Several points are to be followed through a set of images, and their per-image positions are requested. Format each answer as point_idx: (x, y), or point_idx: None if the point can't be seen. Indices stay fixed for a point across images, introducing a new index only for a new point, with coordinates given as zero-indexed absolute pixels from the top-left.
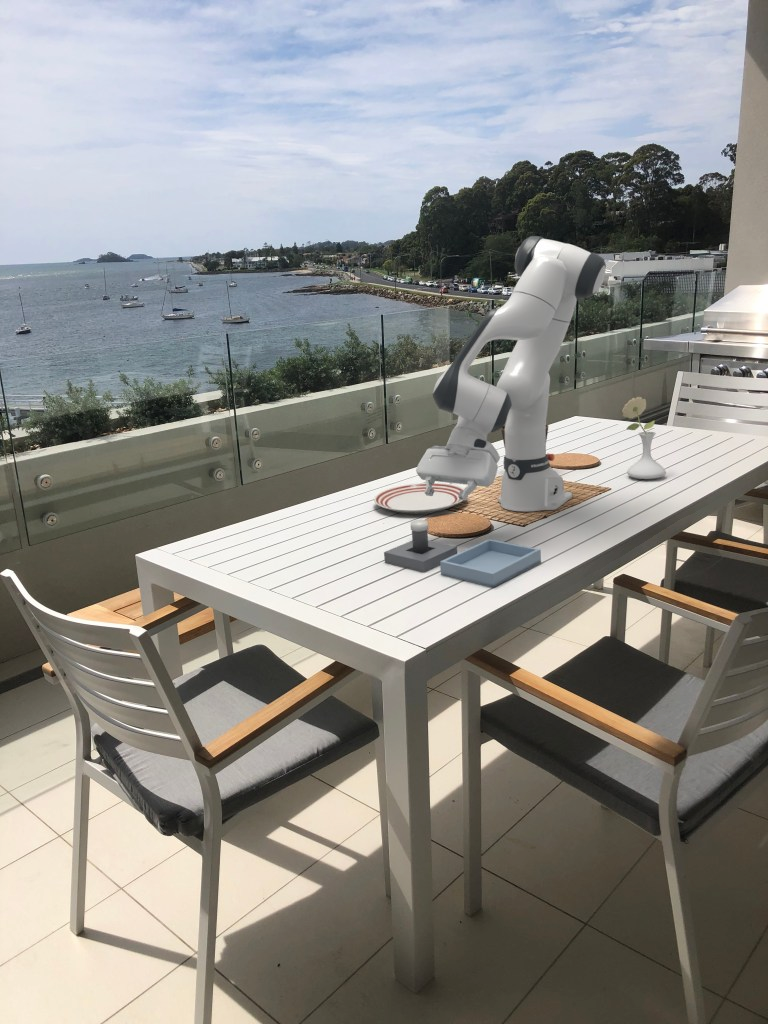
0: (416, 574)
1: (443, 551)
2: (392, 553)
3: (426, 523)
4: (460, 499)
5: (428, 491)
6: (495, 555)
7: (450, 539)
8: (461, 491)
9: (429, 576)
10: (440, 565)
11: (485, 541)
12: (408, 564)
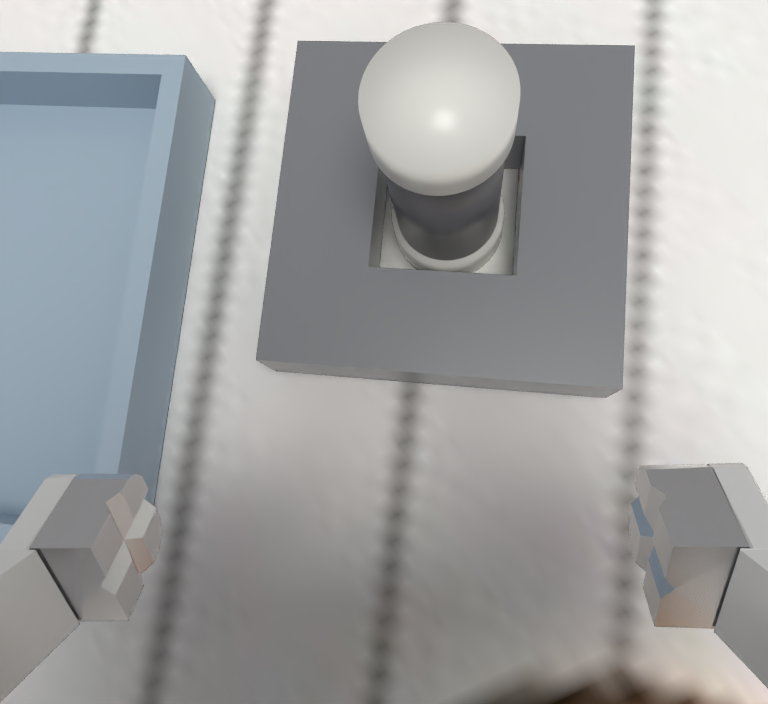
0: (332, 39)
1: (286, 238)
2: (564, 53)
3: (361, 105)
4: (155, 519)
5: (674, 474)
6: (53, 456)
7: (515, 663)
8: (73, 531)
9: (254, 52)
10: (194, 70)
11: None
12: None
